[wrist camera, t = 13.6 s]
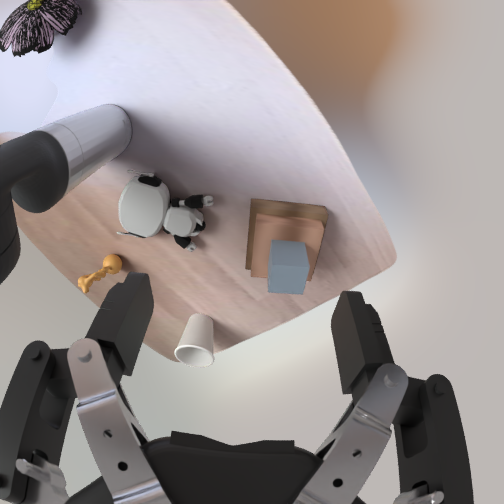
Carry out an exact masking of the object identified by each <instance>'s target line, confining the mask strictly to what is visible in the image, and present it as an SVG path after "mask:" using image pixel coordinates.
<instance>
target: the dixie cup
mask: <svg viewBox="0 0 504 504" xmlns="http://www.w3.org/2000/svg"><path fill="white" fill-rule="evenodd" d="M213 324H214V323H213V320H212V319H211V318H210V317H209V316H207V315H205V314H200V313H197V314H193V315H192V316H190V318H189V320H188V323H187V325H186V327H185V330H184V332H183V335H182V337H181V340H180V342H179V344H178V347H177V348H176V349H175V356H176V358H177V359H178V360H179V361H180V362H182V363H184V364H186V365H189V366H192V367H207V366H209V365H211V364H212V363H213V362H214V356H213Z"/></svg>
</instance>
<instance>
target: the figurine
mask: <svg viewBox="0 0 504 504" xmlns="http://www.w3.org/2000/svg"><path fill="white" fill-rule="evenodd" d="M121 267H122V261H121V259H120V258H119V257H118V256H117V255H114V254H110V255H108V256H107V257H106V258H105V259H104V261H103V268H102V269H100V270H99V271H98V272H95V273H93V274H89V275H84V276H81V277H80V278H79V279H78V284H79V285H78V286H79V287H81V288H82V289H83V292H84V293H87V292H89V287H90V286H91V285H92V283H93V281H100V280H101V278H104V277H105V276H106V273H109V274H116V273H118V272H119V271H120V270H121ZM105 272H106V273H105Z"/></svg>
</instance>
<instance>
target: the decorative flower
mask: <svg viewBox="0 0 504 504" xmlns="http://www.w3.org/2000/svg"><path fill="white" fill-rule="evenodd" d="M78 14H81V15H82V10H81V8H80V7H79V5H78V4H77V3H76V2H75V1H74V0H28V1H27V2H26V3H24V4H22V5H21V6H19V7H18V8H17V9H16V10H15V11H14V12H12V14H11V15H10V16H9V17H8V18H7V20H6V21H5V23H4V25H3V26H2V28H1V30H0V49H1V50H2V52H5V51H6V50H7V49H8V47H9V46H10V44H11V43H12V52H13V55H14V57H15V56H16V55H18V56H19V57H21V55H25V53H28V52H30V51H32V50H33V51H37V52H38V53H41V52H44V51H46V50H48V49H50V48H51V46H52V44H53V40H54V30H56V31H57V32H58V33H60V34H62V35H65V36H66V34H67V33H68V30H69V29H71V28H73V24H75V23H76V22H75V20H76V18H77V16H78Z"/></svg>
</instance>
